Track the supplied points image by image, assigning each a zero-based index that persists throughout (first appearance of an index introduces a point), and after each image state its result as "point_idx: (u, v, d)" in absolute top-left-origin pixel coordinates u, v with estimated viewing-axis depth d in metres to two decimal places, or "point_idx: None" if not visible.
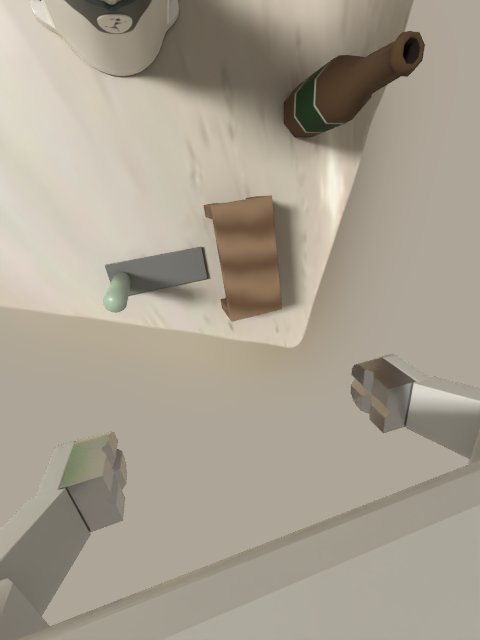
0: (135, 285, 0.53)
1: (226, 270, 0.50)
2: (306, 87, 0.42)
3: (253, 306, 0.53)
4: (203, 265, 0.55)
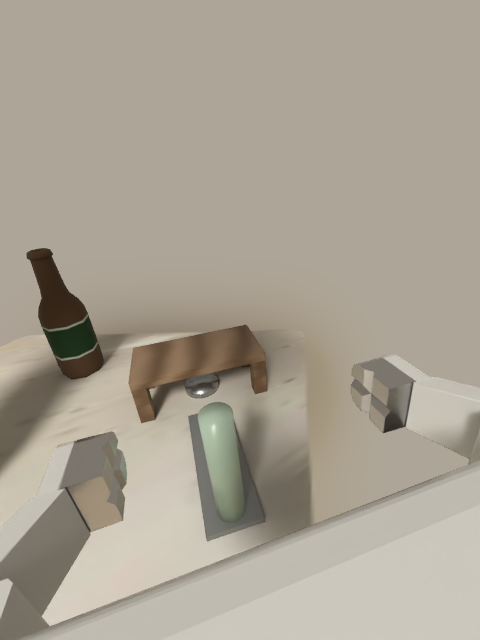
0: None
1: (202, 364, 0.43)
2: (55, 342, 0.52)
3: (244, 340, 0.48)
4: None
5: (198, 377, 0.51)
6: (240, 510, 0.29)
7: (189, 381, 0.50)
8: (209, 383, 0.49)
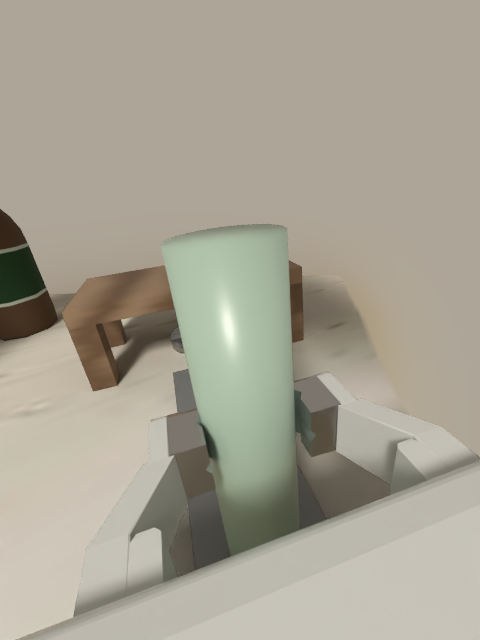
0: None
1: None
2: None
3: None
4: None
5: None
6: None
7: (177, 331, 0.32)
8: None
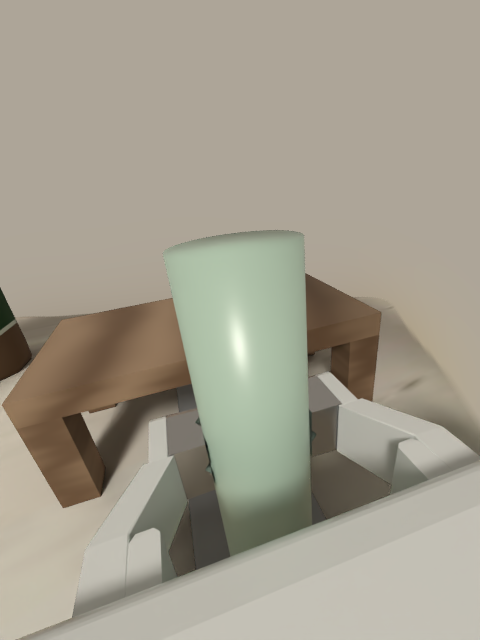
0: None
1: None
2: None
3: (314, 295, 0.21)
4: None
5: None
6: None
7: None
8: None
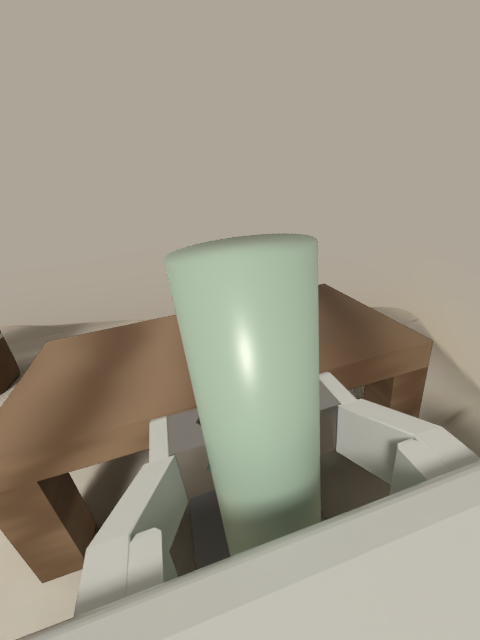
0: None
1: None
2: None
3: (344, 314, 0.18)
4: None
5: None
6: None
7: None
8: None
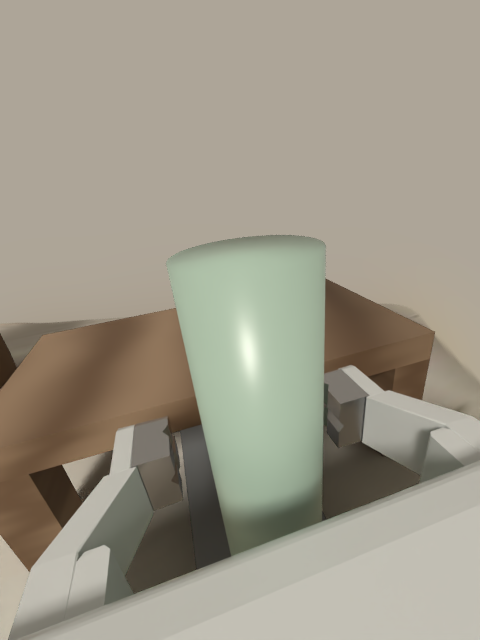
0: None
1: None
2: None
3: (344, 307, 0.17)
4: None
5: None
6: None
7: None
8: None
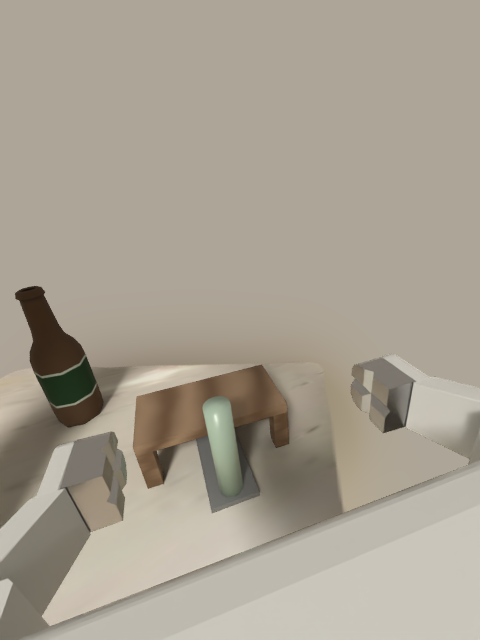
0: None
1: None
2: (49, 390, 0.47)
3: (262, 387, 0.43)
4: None
5: None
6: (239, 486, 0.35)
7: None
8: None
